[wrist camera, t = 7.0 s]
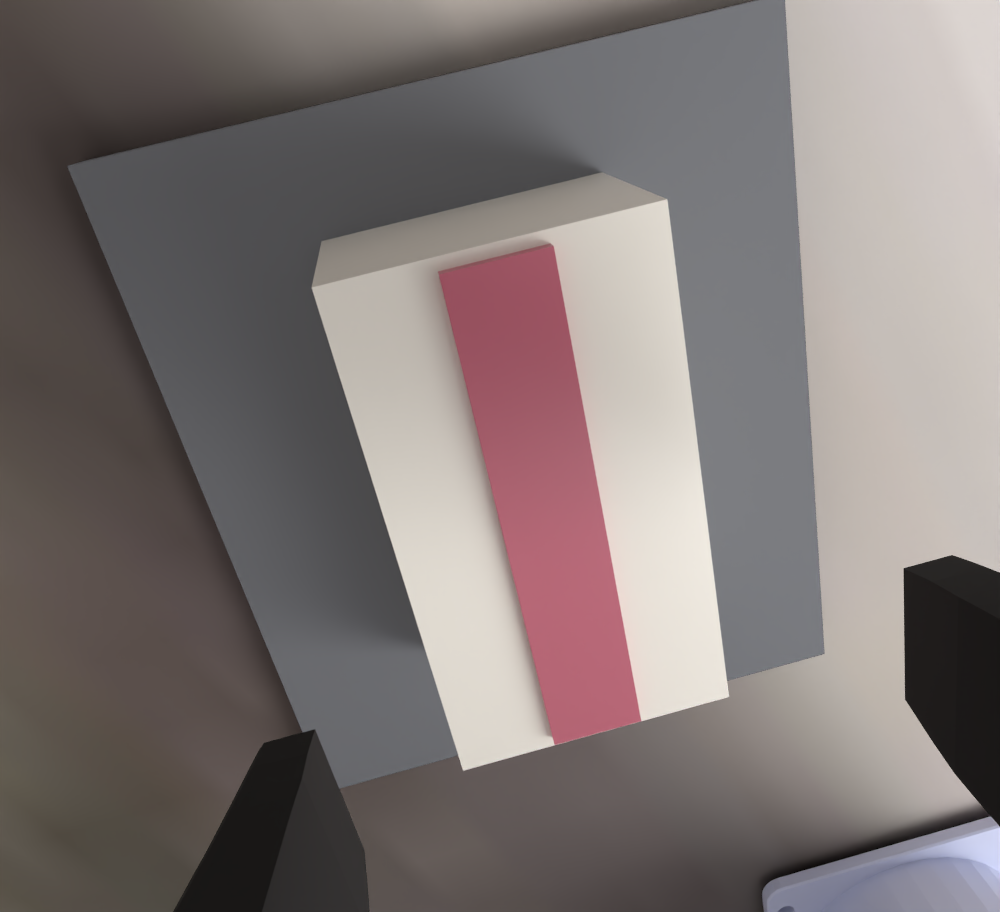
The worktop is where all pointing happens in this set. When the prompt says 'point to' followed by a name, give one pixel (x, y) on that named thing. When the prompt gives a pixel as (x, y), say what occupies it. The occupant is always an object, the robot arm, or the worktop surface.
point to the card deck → (534, 457)
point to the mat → (431, 189)
